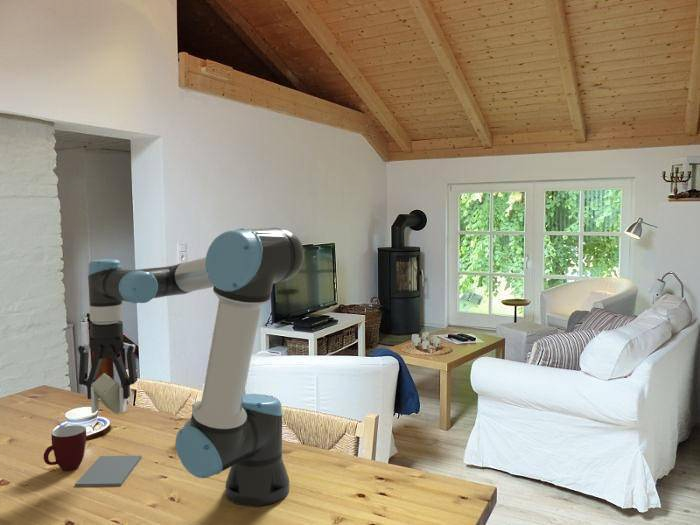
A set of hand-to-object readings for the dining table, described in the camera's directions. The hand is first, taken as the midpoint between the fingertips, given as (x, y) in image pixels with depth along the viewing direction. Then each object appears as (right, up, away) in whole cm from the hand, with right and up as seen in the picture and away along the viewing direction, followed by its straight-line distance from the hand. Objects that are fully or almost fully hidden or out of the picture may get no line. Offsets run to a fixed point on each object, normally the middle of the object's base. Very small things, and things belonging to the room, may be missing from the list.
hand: (109, 410), depth 147 cm
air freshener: (+17, -14, +25) cm, 34 cm away
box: (0, 0, +5) cm, 5 cm away
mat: (-1, -16, +2) cm, 16 cm away
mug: (-12, -16, +3) cm, 20 cm away
